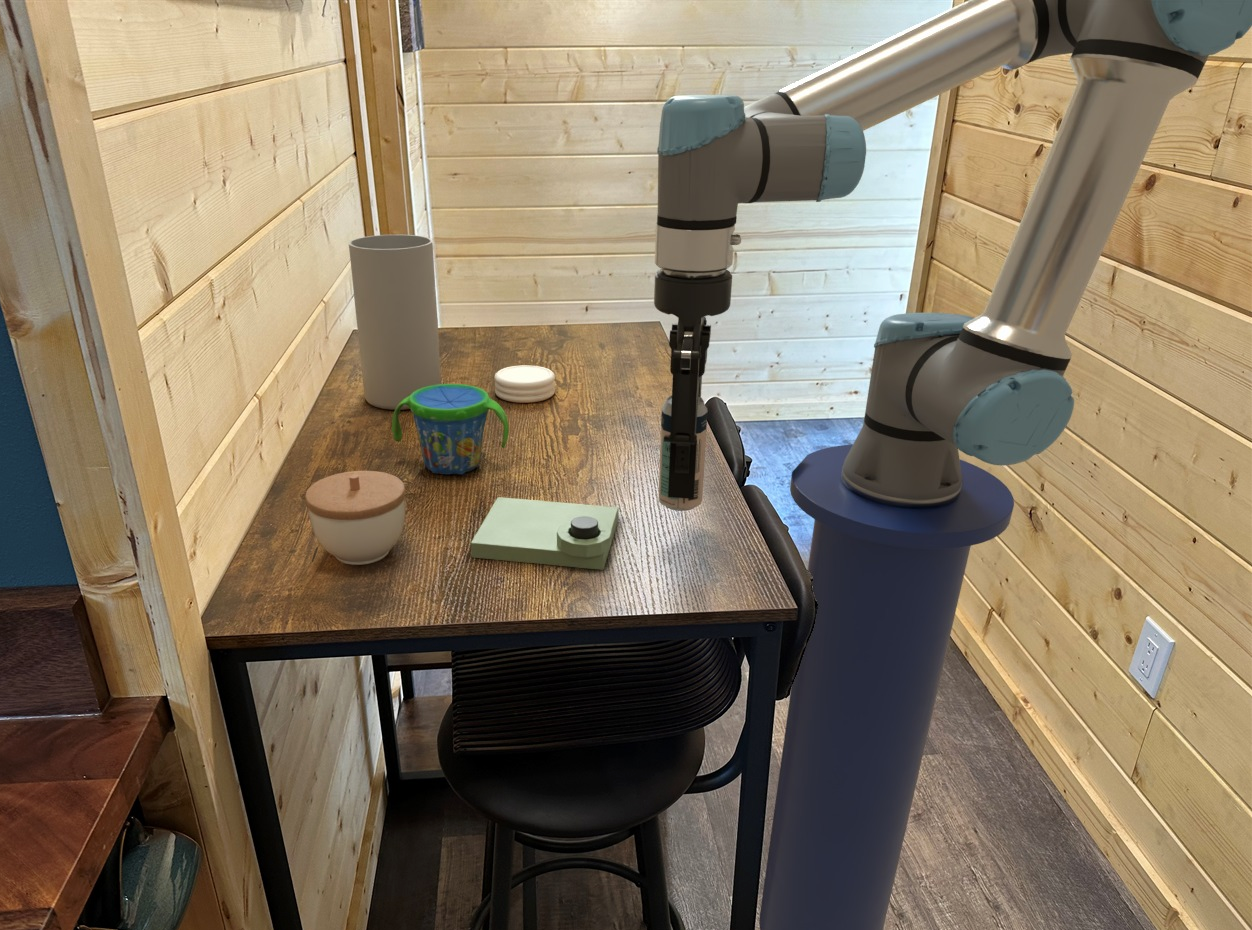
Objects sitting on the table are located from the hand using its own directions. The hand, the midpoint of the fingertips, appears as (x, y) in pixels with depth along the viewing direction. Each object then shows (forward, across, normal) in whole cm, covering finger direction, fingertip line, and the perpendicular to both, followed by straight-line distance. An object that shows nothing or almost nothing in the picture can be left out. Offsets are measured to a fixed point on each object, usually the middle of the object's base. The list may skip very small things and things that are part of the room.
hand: (682, 485), depth 99 cm
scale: (+8, +1, +15) cm, 18 cm away
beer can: (+2, 0, 0) cm, 2 cm away
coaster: (+9, +50, +29) cm, 58 cm away
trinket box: (+8, -6, +35) cm, 37 cm away
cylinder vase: (+8, +44, +48) cm, 66 cm away
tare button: (+5, -3, +10) cm, 12 cm away
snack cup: (+9, +19, +32) cm, 38 cm away
